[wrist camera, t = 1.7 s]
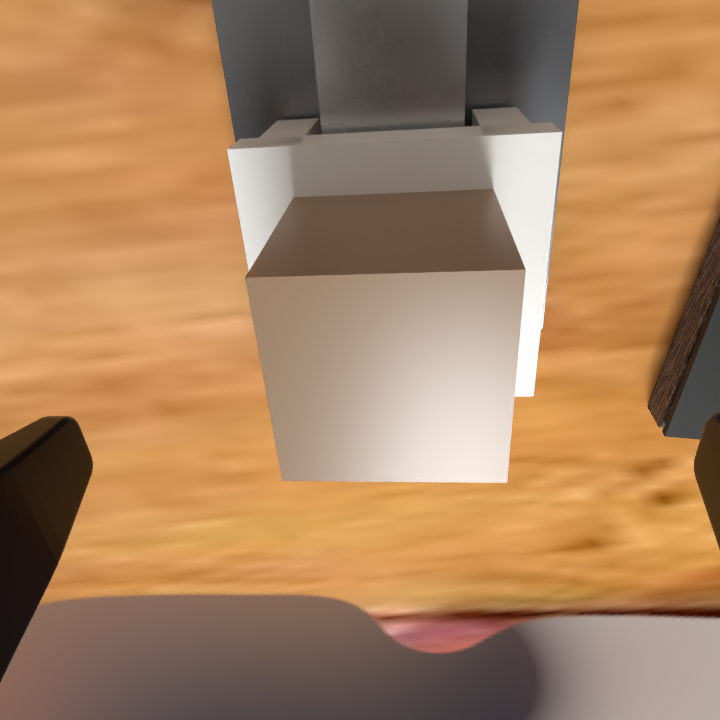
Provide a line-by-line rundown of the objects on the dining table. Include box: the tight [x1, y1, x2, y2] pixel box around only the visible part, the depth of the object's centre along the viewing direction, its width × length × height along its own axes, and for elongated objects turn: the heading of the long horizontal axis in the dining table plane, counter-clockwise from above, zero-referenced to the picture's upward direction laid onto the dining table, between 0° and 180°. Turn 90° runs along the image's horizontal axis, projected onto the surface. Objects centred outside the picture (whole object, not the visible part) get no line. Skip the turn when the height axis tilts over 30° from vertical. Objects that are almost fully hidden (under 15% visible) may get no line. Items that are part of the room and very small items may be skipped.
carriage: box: [227, 107, 562, 483], centre depth 12 cm, size 6×6×7 cm
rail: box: [212, 0, 579, 329], centre depth 12 cm, size 16×8×3 cm, turn 4°
